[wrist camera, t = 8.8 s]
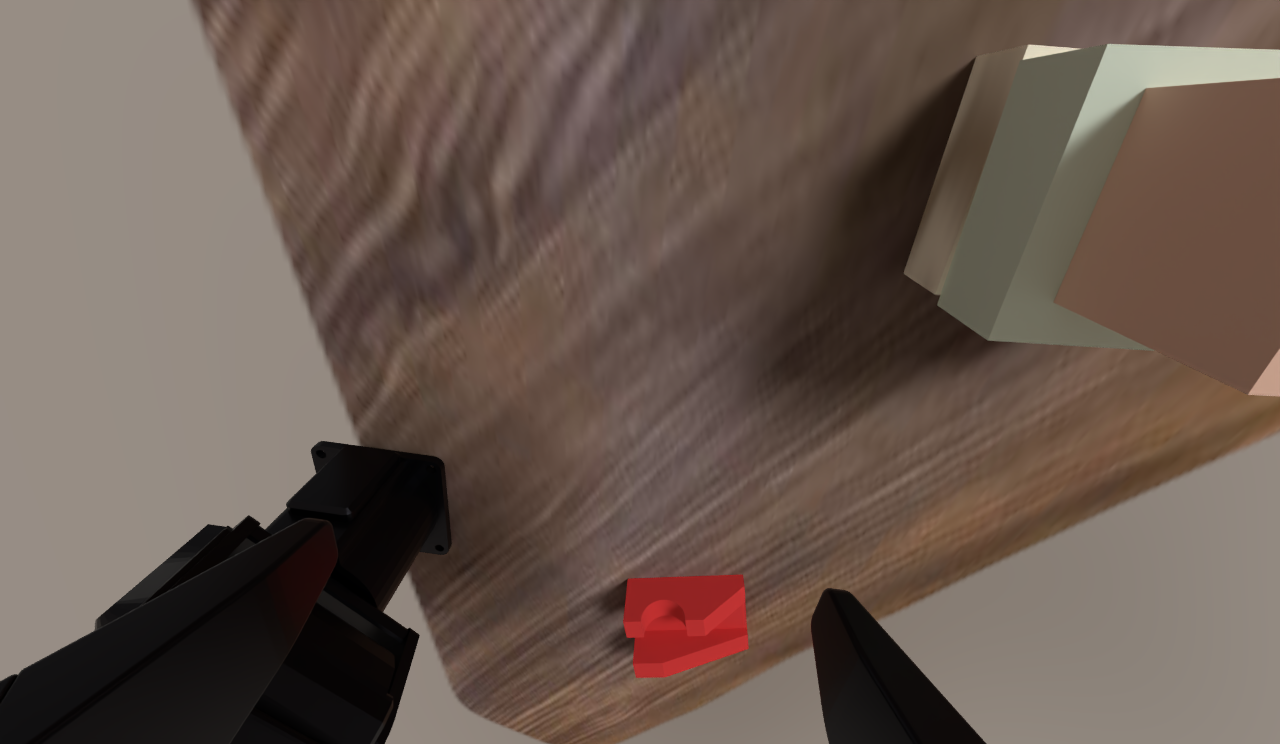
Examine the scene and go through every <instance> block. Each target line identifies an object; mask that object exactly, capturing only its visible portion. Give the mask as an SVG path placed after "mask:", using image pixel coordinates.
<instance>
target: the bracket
mask: <svg viewBox="0 0 1280 744" xmlns="http://www.w3.org/2000/svg"><path fill="white" fill-rule="evenodd" d="M623 623H624V627H625V632H626V636H627V638H635V644H634V657H633V666H634V670H635V675H636V678H644V677H667V676H670V675H673V674H676V673H679V672H682V671H685V670H688V669H691V668H693V667H696V666H699V665H702V664H705V663H708V662H711V661H714V660H717V659H720V658H723V657H726V656H729V655H732V654H735V653H737V652H740V651H743V650H746V649H748V634H747V624H746V606H745V588H744V580H743V575H719V576H690V577H662V578H634V579H628V582H627V592H626V601H625V610H624V620H623Z"/></svg>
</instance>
